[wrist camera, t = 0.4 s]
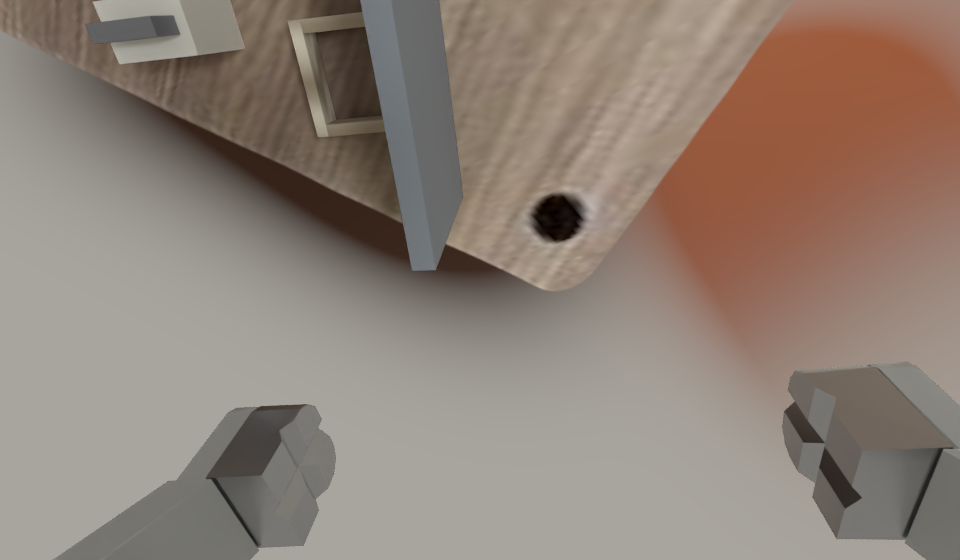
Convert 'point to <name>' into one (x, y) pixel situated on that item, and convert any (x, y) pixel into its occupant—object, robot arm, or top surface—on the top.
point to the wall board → (417, 119)
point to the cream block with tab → (165, 28)
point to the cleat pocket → (317, 80)
